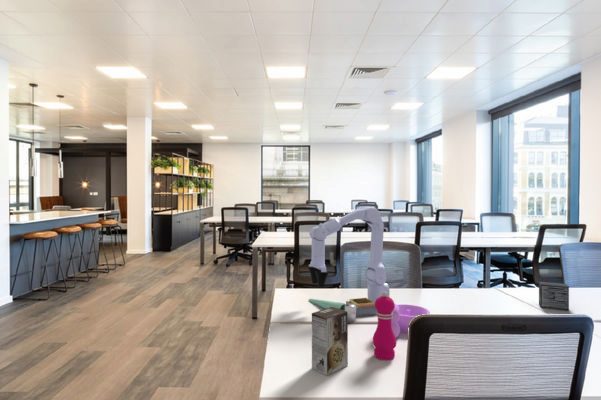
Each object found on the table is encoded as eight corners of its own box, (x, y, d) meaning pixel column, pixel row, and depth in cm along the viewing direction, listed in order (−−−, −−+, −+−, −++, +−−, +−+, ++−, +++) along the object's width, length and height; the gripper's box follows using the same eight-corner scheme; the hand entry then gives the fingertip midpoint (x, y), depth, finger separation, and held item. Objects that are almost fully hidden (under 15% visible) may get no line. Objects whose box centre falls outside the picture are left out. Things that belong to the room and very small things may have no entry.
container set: (400, 317, 155) (400, 285, 154) (436, 327, 144) (436, 292, 144) (364, 334, 137) (364, 297, 136) (403, 346, 126) (403, 306, 126)
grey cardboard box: (332, 358, 116) (332, 306, 116) (348, 365, 111) (348, 310, 111) (310, 368, 110) (310, 312, 109) (327, 376, 105) (327, 317, 105)
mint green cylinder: (314, 288, 180) (349, 302, 157) (314, 300, 180) (349, 316, 157) (304, 290, 177) (338, 304, 154) (304, 302, 177) (338, 318, 154)
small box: (566, 306, 169) (566, 283, 169) (569, 311, 163) (569, 286, 163) (538, 303, 174) (538, 280, 174) (540, 307, 168) (540, 284, 168)
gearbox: (369, 307, 168) (369, 296, 168) (381, 314, 158) (381, 302, 158) (345, 309, 164) (346, 298, 164) (356, 316, 155) (356, 305, 155)
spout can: (353, 318, 154) (353, 299, 153) (357, 321, 149) (358, 302, 149) (342, 319, 152) (343, 300, 152) (347, 322, 148) (347, 303, 148)
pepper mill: (369, 351, 121) (370, 288, 121) (391, 350, 122) (392, 288, 122) (376, 361, 114) (376, 294, 114) (399, 360, 115) (400, 294, 114)
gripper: (304, 252, 171) (304, 282, 171) (315, 257, 157) (315, 290, 157) (318, 251, 173) (318, 281, 173) (331, 256, 159) (330, 288, 160)
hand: (318, 285), depth 166 cm, fingers open, 7 cm apart
